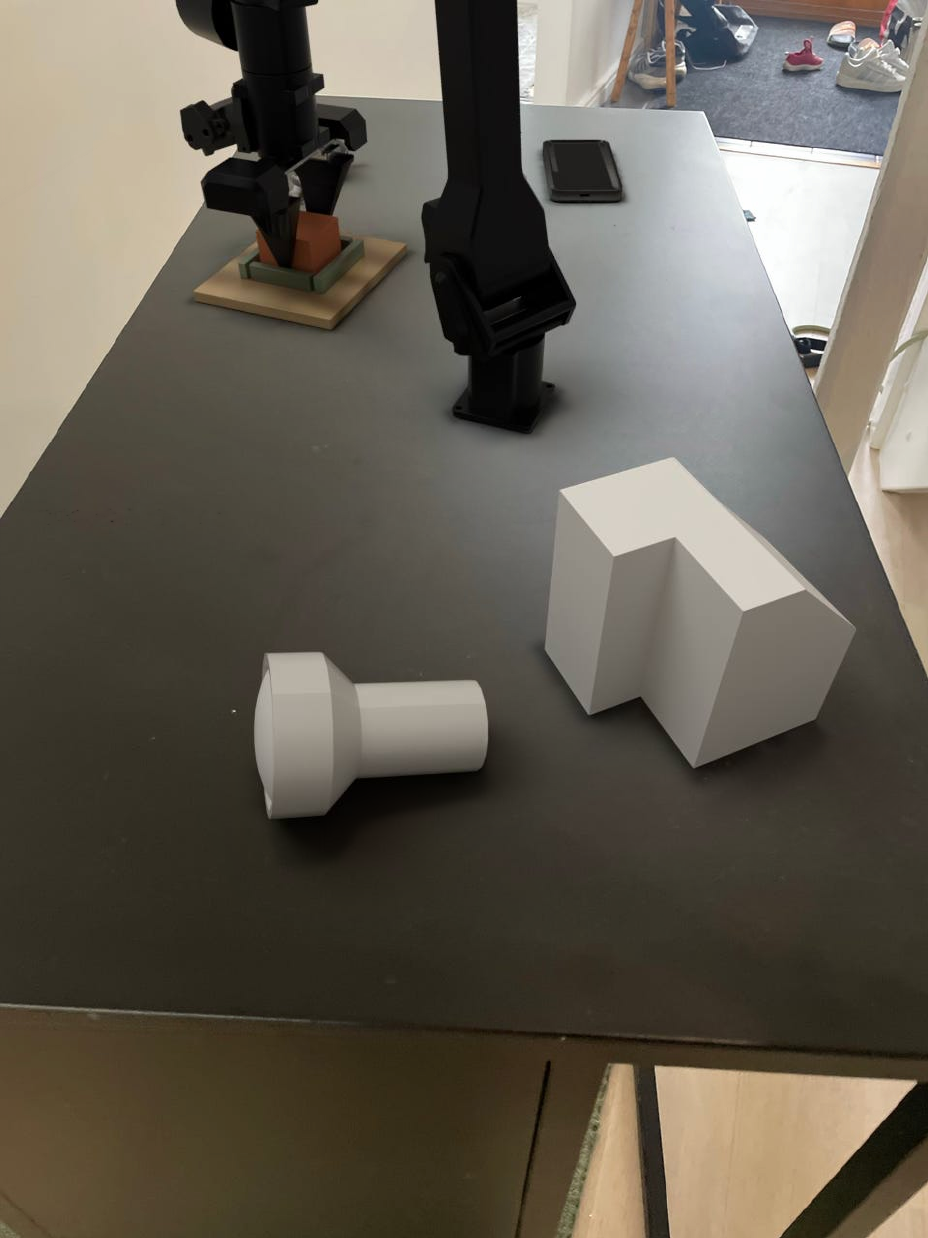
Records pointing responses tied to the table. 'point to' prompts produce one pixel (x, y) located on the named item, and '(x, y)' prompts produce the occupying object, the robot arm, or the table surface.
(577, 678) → the corner bracket
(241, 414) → the table surface
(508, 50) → the robot arm
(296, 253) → the orange square block
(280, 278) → the wooden board with frame
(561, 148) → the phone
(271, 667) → the spotlight
